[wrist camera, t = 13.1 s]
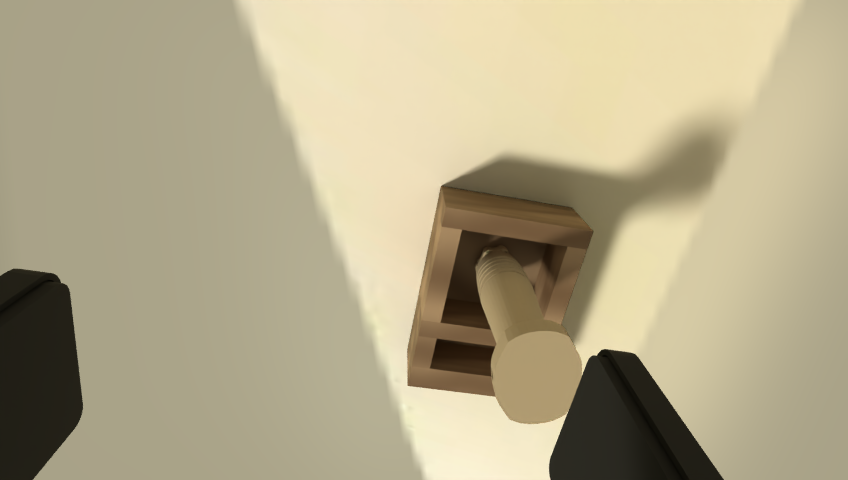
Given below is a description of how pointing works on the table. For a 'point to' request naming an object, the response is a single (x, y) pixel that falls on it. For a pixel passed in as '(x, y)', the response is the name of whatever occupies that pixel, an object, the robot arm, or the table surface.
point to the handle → (525, 344)
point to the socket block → (457, 284)
